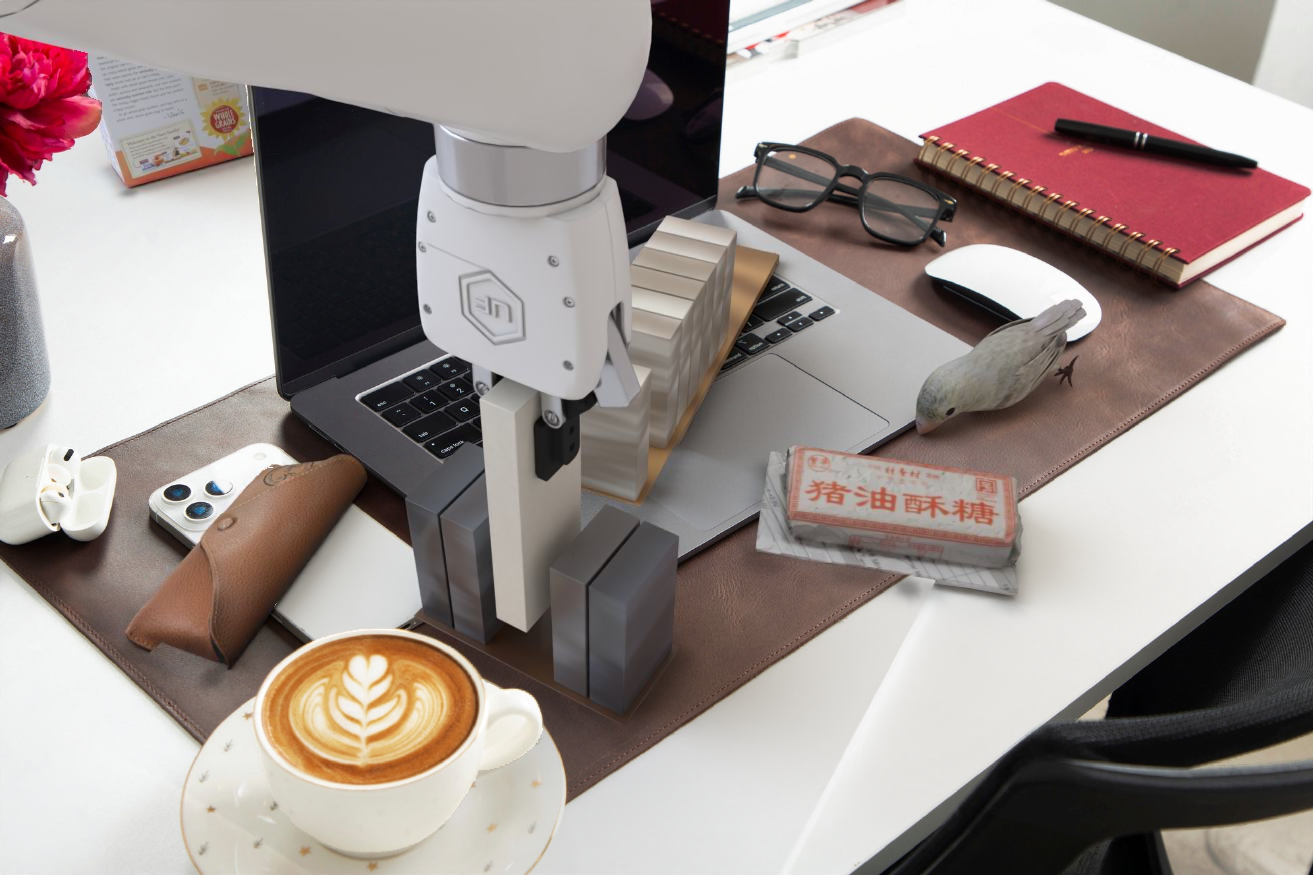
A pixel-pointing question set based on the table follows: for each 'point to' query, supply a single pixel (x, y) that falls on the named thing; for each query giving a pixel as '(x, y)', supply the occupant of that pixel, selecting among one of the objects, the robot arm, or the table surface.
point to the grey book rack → (581, 585)
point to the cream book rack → (672, 350)
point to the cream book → (524, 504)
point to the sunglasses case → (248, 560)
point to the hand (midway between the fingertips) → (534, 453)
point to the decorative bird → (999, 367)
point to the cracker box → (166, 120)
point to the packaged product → (892, 517)
